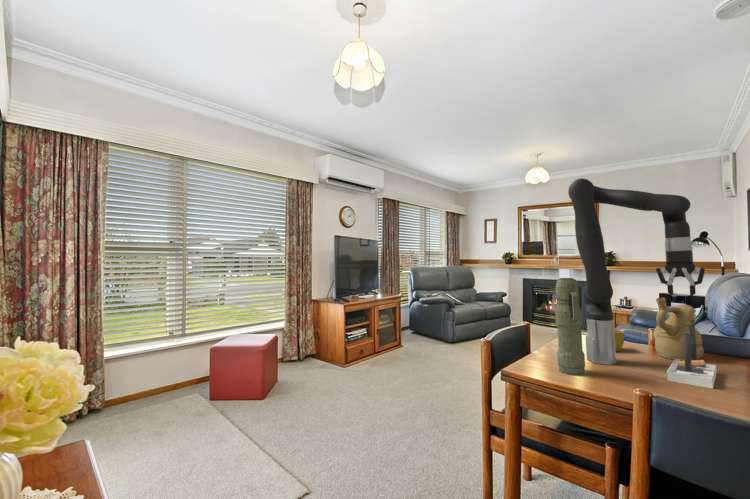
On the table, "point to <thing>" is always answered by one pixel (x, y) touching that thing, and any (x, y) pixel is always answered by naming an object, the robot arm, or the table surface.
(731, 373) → the table surface
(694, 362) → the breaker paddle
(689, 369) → the dark grey peg
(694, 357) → the dark grey rod
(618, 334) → the flower pot
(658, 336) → the ceramic vessel
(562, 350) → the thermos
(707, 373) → the breaker board
